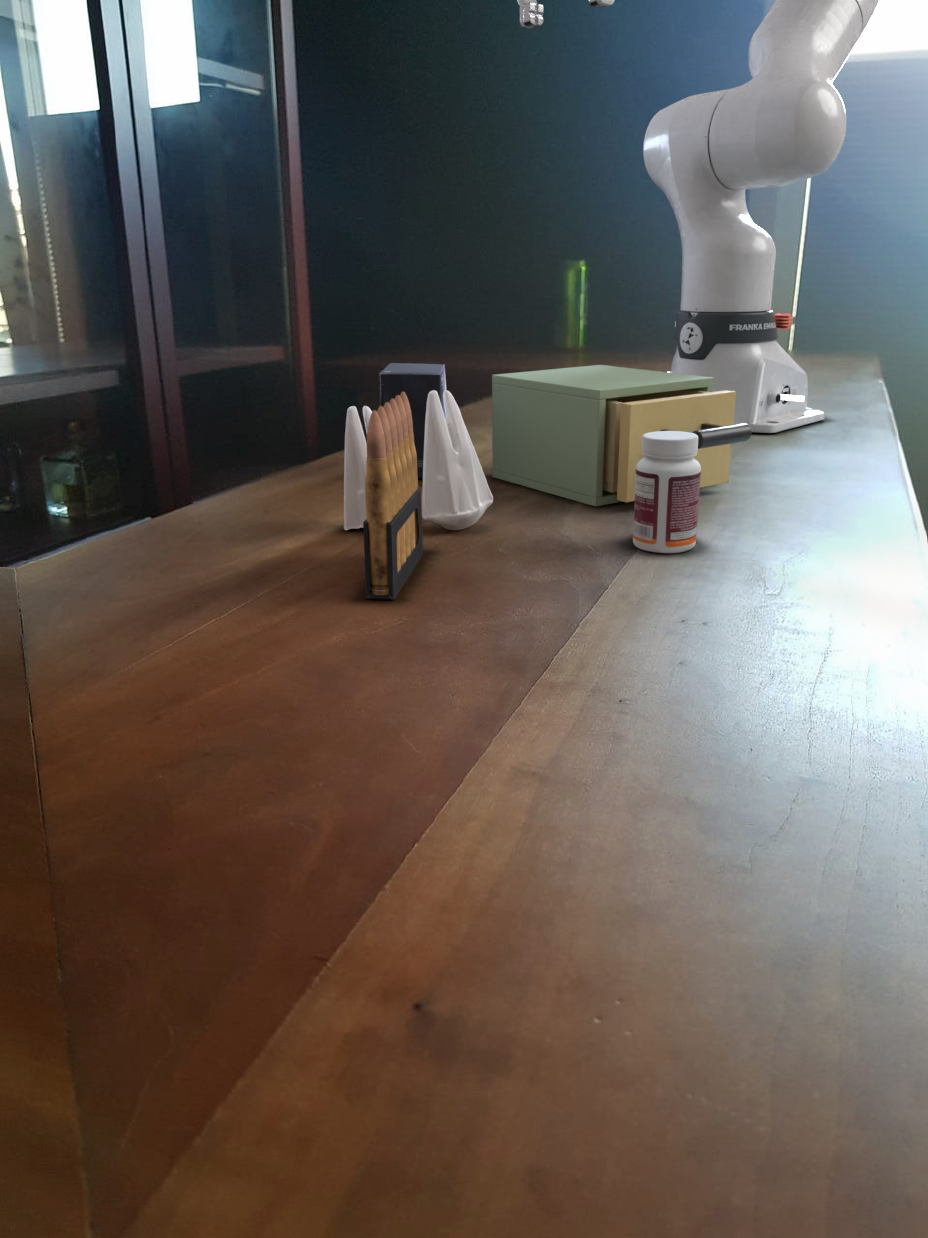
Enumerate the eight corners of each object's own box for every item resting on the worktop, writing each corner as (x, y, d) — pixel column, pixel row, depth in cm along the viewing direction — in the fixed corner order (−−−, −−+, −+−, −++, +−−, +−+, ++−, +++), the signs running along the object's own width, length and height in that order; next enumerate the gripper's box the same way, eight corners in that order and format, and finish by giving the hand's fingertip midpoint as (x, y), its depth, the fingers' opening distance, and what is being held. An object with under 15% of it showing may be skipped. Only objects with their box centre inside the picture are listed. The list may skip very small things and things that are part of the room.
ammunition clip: (399, 552, 71) (392, 389, 67) (423, 552, 71) (418, 389, 67) (365, 599, 61) (355, 412, 57) (393, 600, 61) (385, 412, 57)
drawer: (772, 492, 84) (781, 396, 81) (668, 514, 77) (674, 411, 74) (620, 458, 99) (624, 377, 96) (522, 474, 92) (523, 387, 89)
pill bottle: (697, 538, 74) (705, 430, 71) (694, 556, 69) (702, 441, 66) (635, 535, 75) (640, 428, 72) (628, 552, 70) (634, 439, 68)
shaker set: (494, 522, 79) (494, 386, 75) (487, 535, 75) (486, 393, 71) (355, 518, 81) (348, 385, 77) (341, 531, 77) (333, 392, 73)
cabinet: (706, 485, 91) (714, 377, 87) (595, 506, 84) (599, 390, 80) (597, 460, 103) (600, 364, 99) (492, 477, 96) (491, 374, 92)
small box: (445, 479, 95) (443, 371, 91) (380, 480, 95) (375, 372, 91) (449, 458, 105) (447, 361, 101) (390, 459, 105) (386, 362, 101)
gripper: (685, -200, 78) (673, -3, 82) (521, -123, 93) (520, 40, 98) (631, -222, 74) (623, -15, 79) (470, -137, 89) (472, 32, 94)
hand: (565, 16), depth 88 cm, fingers open, 8 cm apart
